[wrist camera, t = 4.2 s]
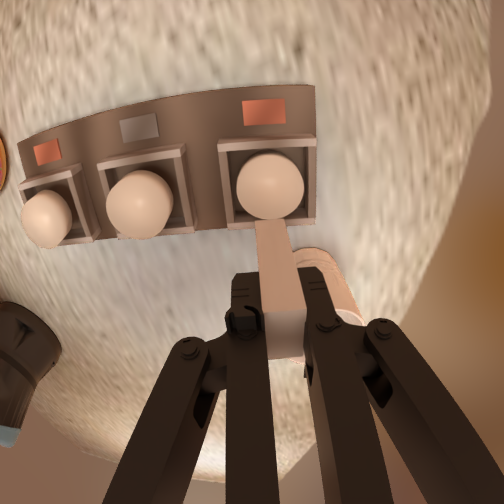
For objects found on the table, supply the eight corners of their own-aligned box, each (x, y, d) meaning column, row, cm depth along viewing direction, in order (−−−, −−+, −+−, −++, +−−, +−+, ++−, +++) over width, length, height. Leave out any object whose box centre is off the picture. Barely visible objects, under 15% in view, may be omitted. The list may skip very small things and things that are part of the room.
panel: (62, 231, 30) (41, 255, 26) (33, 135, 23) (4, 149, 19) (309, 207, 29) (319, 233, 25) (307, 84, 22) (320, 87, 18)
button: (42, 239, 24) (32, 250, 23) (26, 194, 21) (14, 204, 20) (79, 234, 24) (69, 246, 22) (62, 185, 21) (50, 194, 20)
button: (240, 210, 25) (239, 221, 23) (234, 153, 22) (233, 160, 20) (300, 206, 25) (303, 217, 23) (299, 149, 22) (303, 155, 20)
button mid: (124, 229, 24) (116, 241, 22) (109, 175, 21) (98, 184, 19) (178, 224, 24) (173, 236, 22) (167, 165, 21) (160, 174, 19)
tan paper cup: (264, 252, 32) (269, 322, 24) (336, 234, 31) (364, 298, 22) (281, 303, 36) (289, 372, 28) (343, 288, 35) (366, 353, 27)
